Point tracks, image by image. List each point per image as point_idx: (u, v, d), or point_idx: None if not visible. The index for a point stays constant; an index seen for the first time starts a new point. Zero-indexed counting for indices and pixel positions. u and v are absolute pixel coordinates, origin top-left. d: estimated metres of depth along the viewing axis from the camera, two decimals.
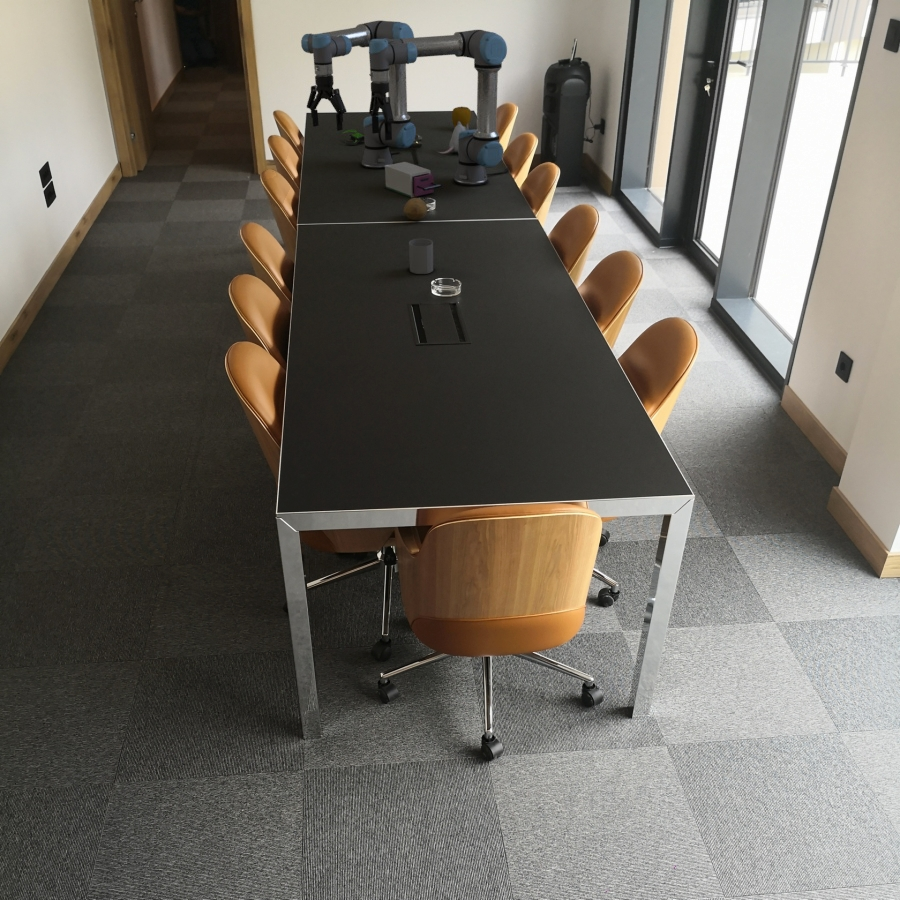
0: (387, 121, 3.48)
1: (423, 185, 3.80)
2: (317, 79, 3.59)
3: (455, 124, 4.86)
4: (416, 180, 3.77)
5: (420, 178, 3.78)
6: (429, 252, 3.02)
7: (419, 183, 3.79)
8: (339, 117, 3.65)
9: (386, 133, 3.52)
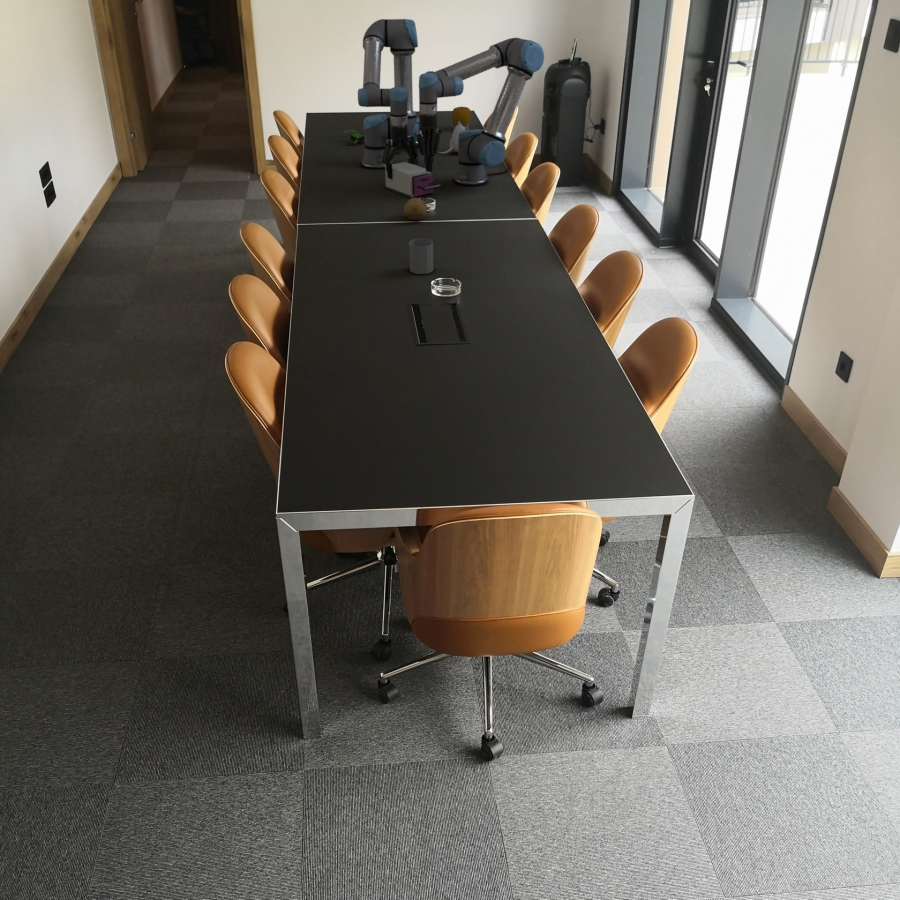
0: (436, 152, 3.71)
1: (423, 185, 3.80)
2: (403, 130, 3.78)
3: (455, 124, 4.86)
4: (416, 180, 3.77)
5: (420, 178, 3.78)
6: (429, 252, 3.02)
7: (419, 183, 3.79)
8: (413, 161, 3.92)
9: None
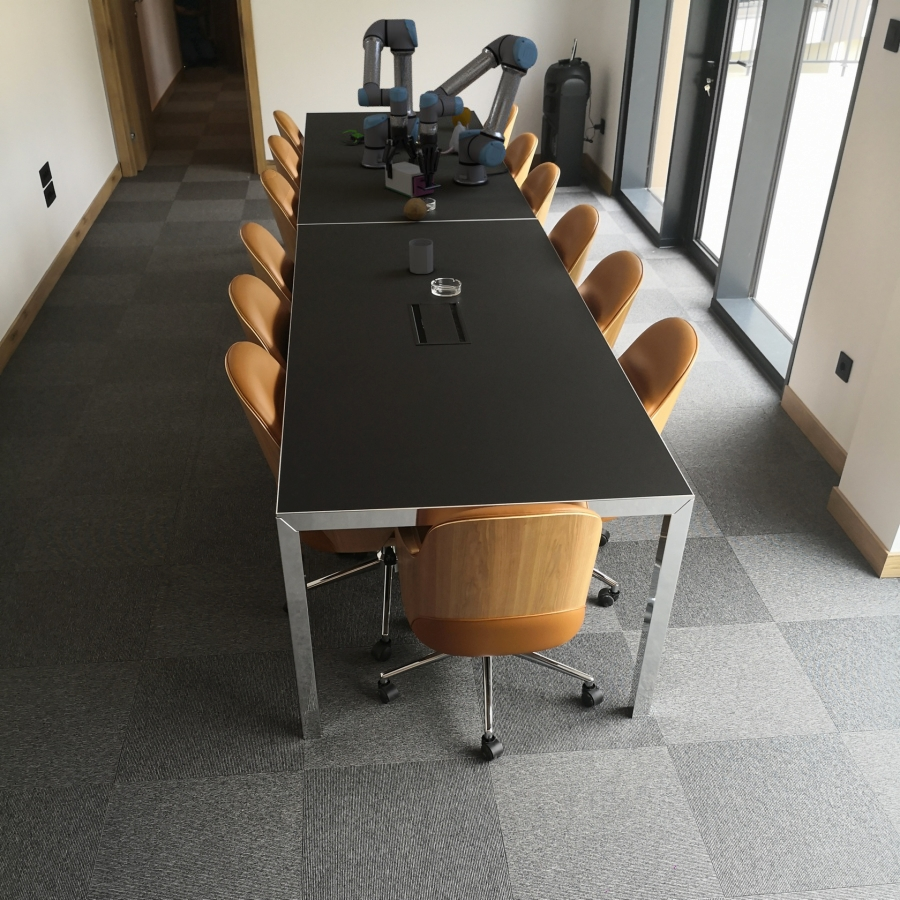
0: (436, 170, 3.76)
1: (423, 185, 3.80)
2: (403, 130, 3.78)
3: (455, 124, 4.86)
4: (416, 180, 3.77)
5: (420, 178, 3.78)
6: (429, 252, 3.02)
7: (419, 183, 3.78)
8: None
9: None
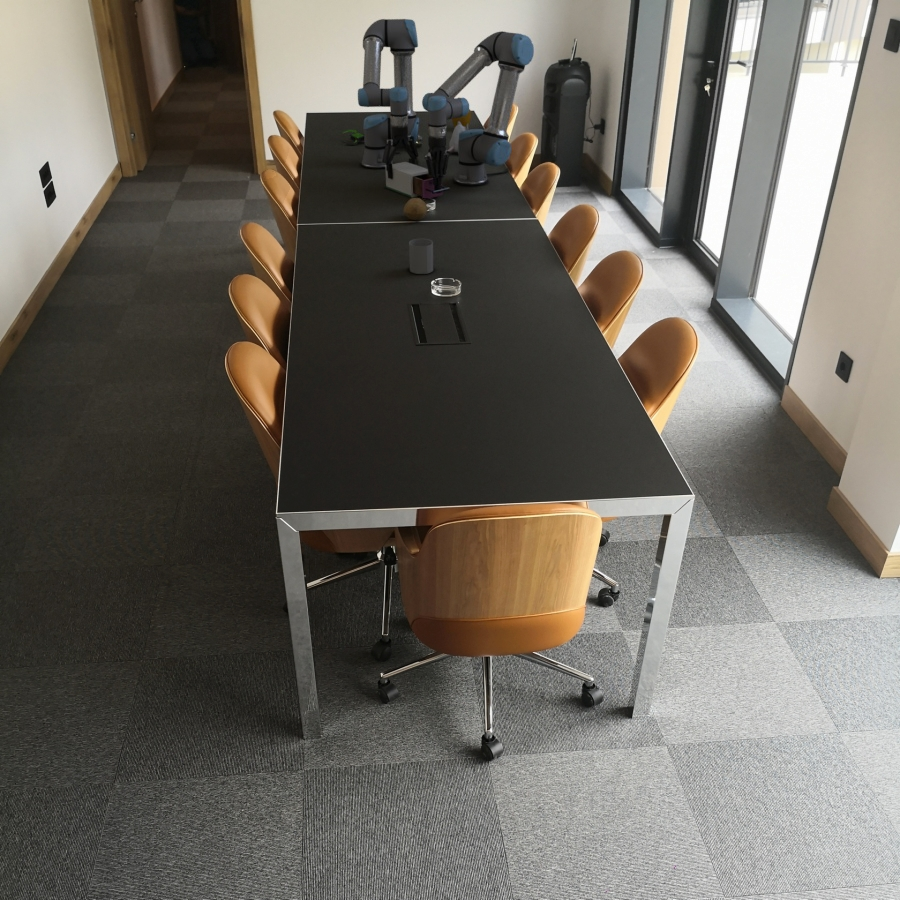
0: (444, 173, 3.72)
1: (431, 188, 3.76)
2: (403, 130, 3.78)
3: (455, 124, 4.86)
4: (425, 183, 3.73)
5: (429, 181, 3.74)
6: (429, 252, 3.02)
7: (428, 186, 3.75)
8: (413, 161, 3.92)
9: None
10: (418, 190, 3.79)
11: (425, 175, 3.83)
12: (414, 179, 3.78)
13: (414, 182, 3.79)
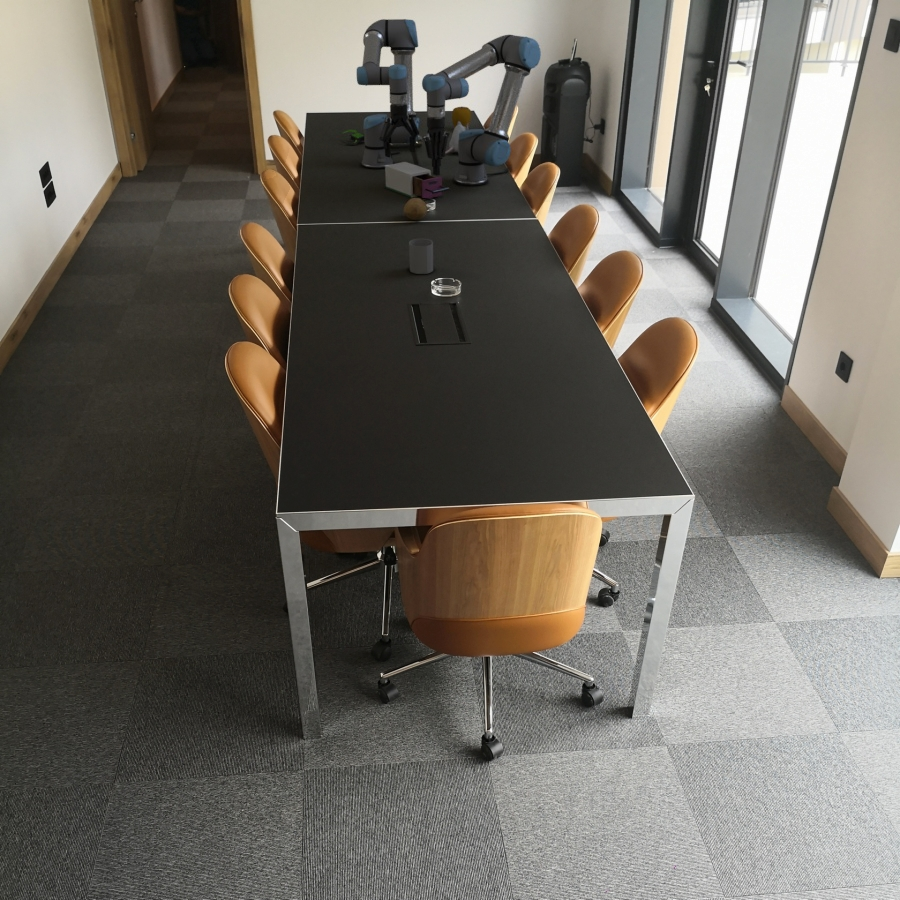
0: (443, 155, 3.68)
1: (431, 188, 3.77)
2: (402, 108, 3.73)
3: (455, 124, 4.86)
4: (424, 183, 3.73)
5: (428, 181, 3.74)
6: (429, 252, 3.02)
7: (427, 186, 3.75)
8: (414, 139, 3.87)
9: None
10: (418, 190, 3.79)
11: (425, 175, 3.83)
12: (414, 179, 3.78)
13: (414, 182, 3.79)
